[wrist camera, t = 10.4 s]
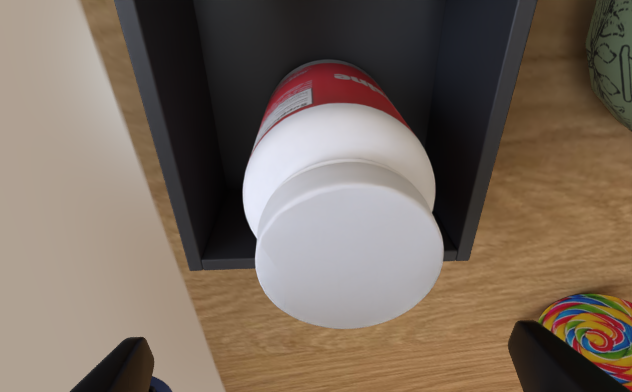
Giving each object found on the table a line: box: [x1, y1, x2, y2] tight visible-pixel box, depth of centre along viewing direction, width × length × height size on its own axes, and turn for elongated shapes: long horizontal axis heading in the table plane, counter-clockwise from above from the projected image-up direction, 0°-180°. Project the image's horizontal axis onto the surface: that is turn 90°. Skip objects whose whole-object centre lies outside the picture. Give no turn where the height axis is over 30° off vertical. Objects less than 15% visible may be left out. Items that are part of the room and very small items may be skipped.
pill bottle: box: [243, 59, 444, 329], centre depth 13 cm, size 6×6×11 cm
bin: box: [114, 0, 537, 271], centre depth 15 cm, size 12×12×7 cm
